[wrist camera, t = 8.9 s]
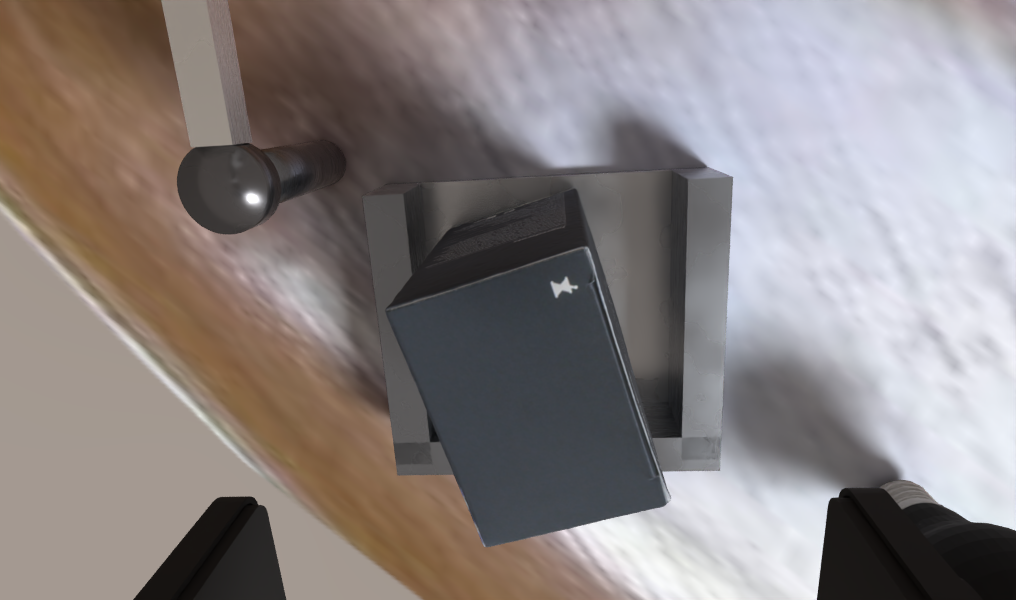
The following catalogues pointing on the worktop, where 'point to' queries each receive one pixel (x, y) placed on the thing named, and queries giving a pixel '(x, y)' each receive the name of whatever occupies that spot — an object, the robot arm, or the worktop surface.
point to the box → (528, 373)
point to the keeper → (626, 264)
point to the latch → (217, 123)
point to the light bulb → (962, 542)
